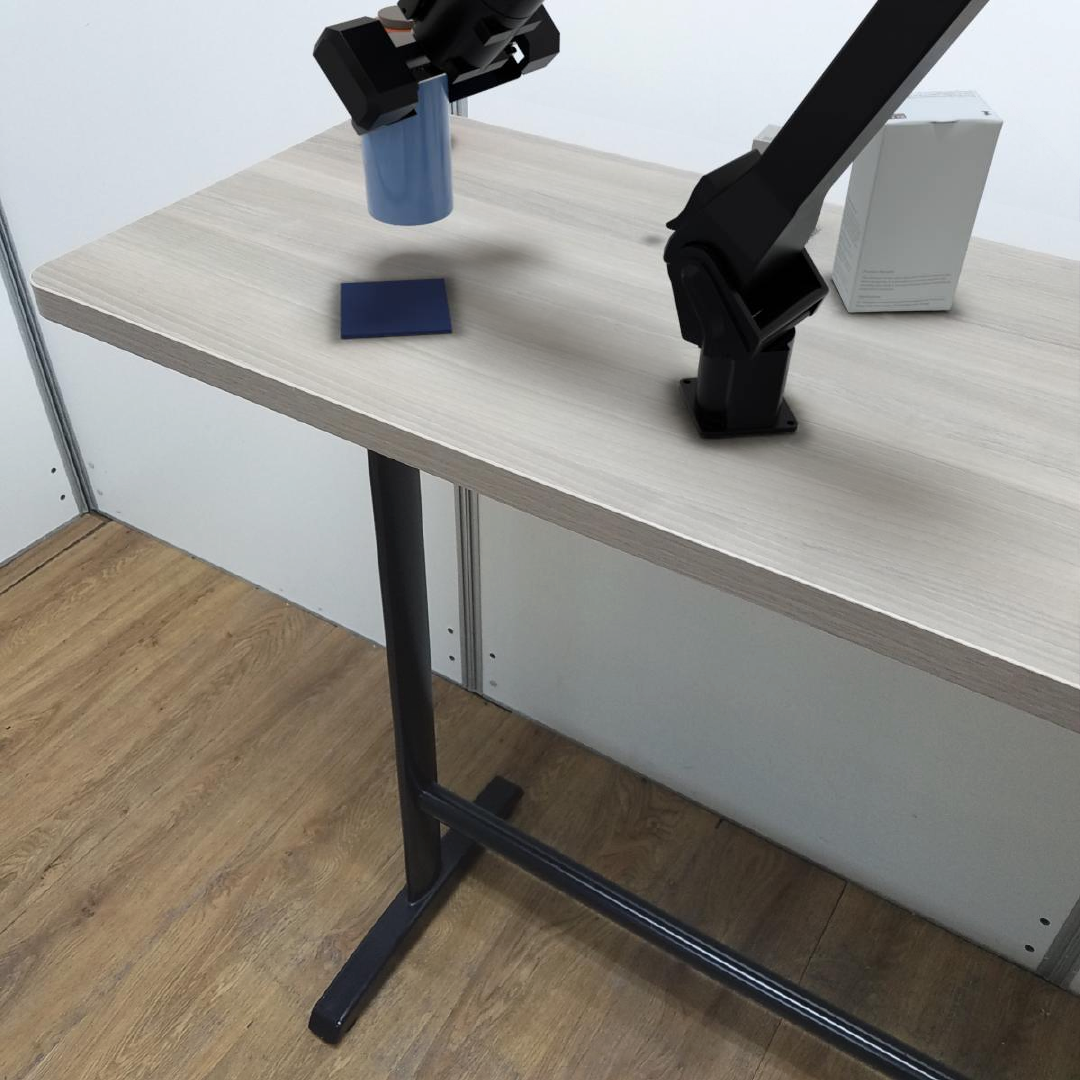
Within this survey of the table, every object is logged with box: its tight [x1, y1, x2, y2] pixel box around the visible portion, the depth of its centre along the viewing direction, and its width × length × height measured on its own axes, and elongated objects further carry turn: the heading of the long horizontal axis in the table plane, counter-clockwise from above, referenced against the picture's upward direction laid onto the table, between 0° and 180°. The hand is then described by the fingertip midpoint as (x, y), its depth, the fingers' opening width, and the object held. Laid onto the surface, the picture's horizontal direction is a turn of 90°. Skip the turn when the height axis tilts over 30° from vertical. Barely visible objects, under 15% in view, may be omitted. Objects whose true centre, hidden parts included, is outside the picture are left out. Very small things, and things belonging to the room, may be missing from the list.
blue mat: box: [340, 277, 453, 340], centre depth 81 cm, size 8×8×1 cm
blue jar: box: [359, 32, 455, 227], centre depth 79 cm, size 7×7×12 cm
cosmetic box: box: [831, 89, 1005, 313], centre depth 79 cm, size 8×6×15 cm
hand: (391, 116), depth 80 cm, fingers closed on blue jar, 6 cm apart
